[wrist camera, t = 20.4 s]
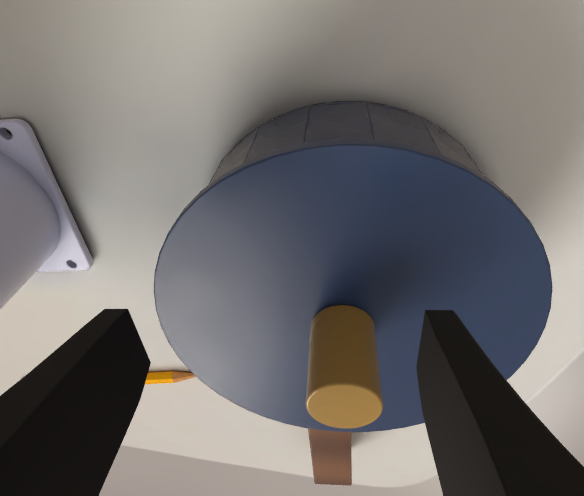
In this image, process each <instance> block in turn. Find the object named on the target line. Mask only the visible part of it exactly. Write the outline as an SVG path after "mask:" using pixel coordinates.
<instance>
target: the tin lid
mask: <svg viewBox="0 0 584 496" xmlns="http://www.w3.org/2000/svg"><path fill="white" fill-rule="evenodd" d="M154 296H155V304H156V311H157V314H158V318H159V321H160V324H161V327H162V329H163V331H164V334H165V336H166V338H167V340H168V342H169V344H170V345H171V347H172V348H173V350H174V351H175V353H176V354H177V356H178V357H179V358H180V360H181V361H182V362H183V363H184V364H185V365H186V366H187V368H188V369H189V370H190V371H191V372H192V373H193V374H194V375H195V376H196V377H198V378H199V379H200V380H201V381H202V382H203V383H204V384H206V385H207V386H208V387H210V388H211V389H212V390H214V391H215V392H216V393H218V394H219V395H221V396H223V397H224V398H226V399H228V400H229V401H231V402H233V403H234V404H236V405H238V406H240V407H243V408H245V409H247V410H249V411H251V412H253V413H256V414H259V415H261V416H264V417H266V418H269V419H272V420H276V421H279V422H282V423H286V424H290V425H295V426H299V427H304V428H310V429H317V430H324V431H337V432H370V431H383V430H391V429H397V428H404V427H408V426H413V425H417V424H421V423H425V420H424V416H423V412H422V406H421V400H420V393H419V385H418V377H417V370H416V366H417V359H418V353H419V346H420V340H421V333H422V326H423V320H424V313H425V310H453V311H454V312H455V313H456V314H457V315H458V316H459V318H460V319H461V321H462V322H463V324H464V325H465V326H466V328H467V329H468V331H469V332H470V333H471V335H472V336H473V338H474V339H475V340H476V342H477V343H478V344H479V346H480V347H481V348H482V350H483V351H484V352H485V354H486V355H487V356H488V358H489V359H490V360H491V362H492V363H493V364H494V366H495V367H496V368H497V369H498V371H499V372H500V373H501V374H502V376H503V377H504V378H505V379H506V380H507V379H508V378H510V377H511V376H512V375H513V374H514V373H515V372H516V371H517V370H518V368H519V367H520V366H521V365H522V364H523V363H524V362H525V361H526V359H527V358H528V356H529V355H530V354H531V352H532V351H533V349H534V348H535V346H536V345H537V343H538V341H539V339H540V337H541V335H542V333H543V330H544V328H545V326H546V322H547V319H548V315H549V312H550V308H551V297H552V280H551V271H550V264H549V261H548V258H547V255H546V252H545V249H544V246H543V244H542V242H541V240H540V238H539V236H538V235H537V233H536V231H535V229H534V227H533V226H532V224H531V222H530V221H529V220H528V218H527V217H526V216H525V215H524V213H523V212H522V211H521V210H520V209H519V207H518V206H517V205H516V204H515V202H514V201H513V200H512V199H511V198H510V197H509V196H508V195H507V194H506V193H504V192H503V191H502V190H501V189H500V188H499V187H497V186H496V185H495V184H494V183H493V182H492V181H490V180H489V179H487V178H486V177H484V176H483V175H481V174H479V173H478V172H476V171H474V170H473V169H471V168H469V167H468V166H466V165H465V164H462V163H460V162H458V161H455V160H453V159H450V158H448V157H446V156H443V155H441V154H439V153H436V152H433V151H429V150H426V149H422V148H418V147H415V146H411V145H407V144H403V143H396V142H388V141H381V140H374V139H333V140H324V141H316V142H307V143H302V144H298V145H294V146H290V147H286V148H282V149H278V150H274V151H272V152H269V153H266V154H264V155H261V156H259V157H256V158H254V159H251V160H249V161H246V162H244V163H243V164H241V165H239V166H237V167H235V168H234V169H232V170H230V171H228V172H227V173H225V174H223V175H221V176H220V177H219V178H217V179H216V180H215V181H214V182H212V183H211V184H210V185H208V186H207V187H206V188H205V189H203V190H202V191H201V192H200V193H199V194H198V195H197V196H196V197H195V198H194V199H193V200H192V201H191V202H190V203H189V204H188V205H187V206H186V208H185V209H184V210H183V211H182V213H181V214H180V216H179V217H178V219H177V220H176V222H175V223H174V225H173V226H172V228H171V229H170V231H169V233H168V235H167V237H166V239H165V242H164V244H163V246H162V248H161V251H160V253H159V257H158V261H157V265H156V269H155V279H154Z"/></svg>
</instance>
